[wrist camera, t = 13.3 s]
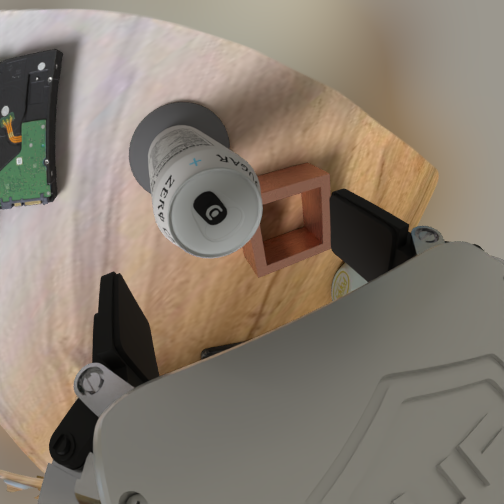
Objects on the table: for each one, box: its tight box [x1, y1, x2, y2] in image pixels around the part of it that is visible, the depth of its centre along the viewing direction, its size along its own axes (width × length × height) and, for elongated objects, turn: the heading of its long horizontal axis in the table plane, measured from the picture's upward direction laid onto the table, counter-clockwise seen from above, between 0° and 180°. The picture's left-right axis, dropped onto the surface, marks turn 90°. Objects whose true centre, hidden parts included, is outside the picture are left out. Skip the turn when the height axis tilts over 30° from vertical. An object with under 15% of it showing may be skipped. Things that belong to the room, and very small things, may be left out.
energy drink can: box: [148, 125, 263, 258], centre depth 19 cm, size 6×6×15 cm
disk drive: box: [0, 49, 63, 209], centre depth 17 cm, size 10×3×15 cm
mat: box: [129, 102, 230, 194], centre depth 25 cm, size 10×10×1 cm
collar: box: [243, 163, 331, 278], centre depth 32 cm, size 10×10×4 cm
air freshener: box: [331, 263, 368, 301], centre depth 41 cm, size 11×8×10 cm
